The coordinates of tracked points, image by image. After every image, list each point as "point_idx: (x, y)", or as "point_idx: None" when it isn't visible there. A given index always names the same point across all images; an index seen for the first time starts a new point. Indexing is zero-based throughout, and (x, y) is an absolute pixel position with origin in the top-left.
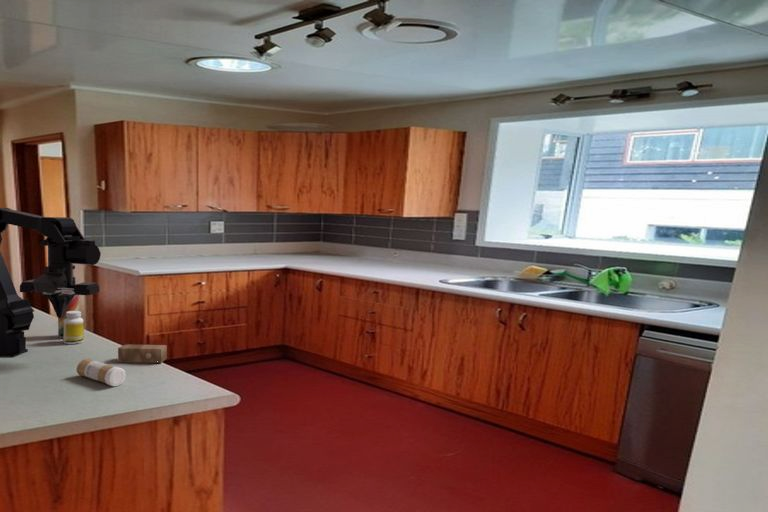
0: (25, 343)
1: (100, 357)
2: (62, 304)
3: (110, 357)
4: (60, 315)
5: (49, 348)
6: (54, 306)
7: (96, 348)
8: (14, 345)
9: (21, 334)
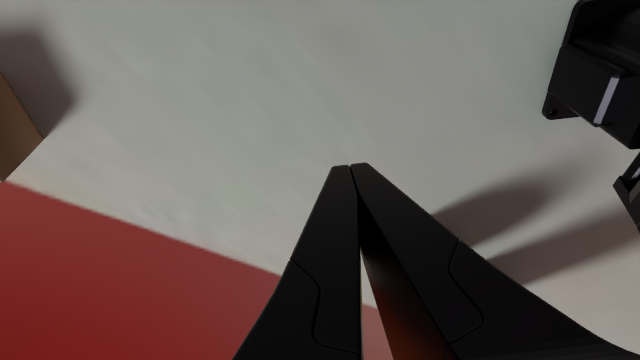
0: (570, 106)
1: (156, 115)
2: (287, 299)
3: (112, 127)
4: (331, 177)
5: (466, 168)
6: (436, 247)
7: (279, 214)
8: (617, 48)
9: (629, 117)
